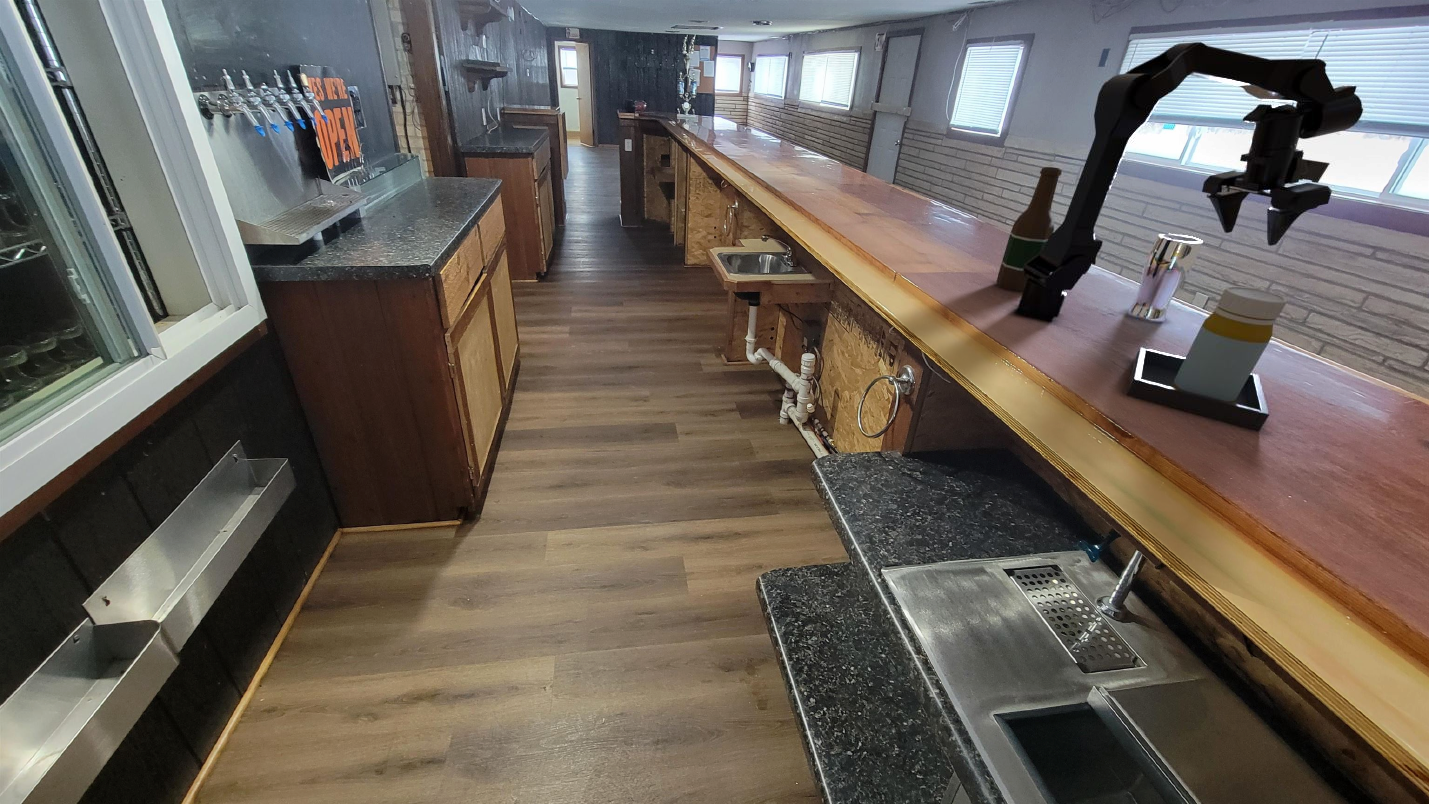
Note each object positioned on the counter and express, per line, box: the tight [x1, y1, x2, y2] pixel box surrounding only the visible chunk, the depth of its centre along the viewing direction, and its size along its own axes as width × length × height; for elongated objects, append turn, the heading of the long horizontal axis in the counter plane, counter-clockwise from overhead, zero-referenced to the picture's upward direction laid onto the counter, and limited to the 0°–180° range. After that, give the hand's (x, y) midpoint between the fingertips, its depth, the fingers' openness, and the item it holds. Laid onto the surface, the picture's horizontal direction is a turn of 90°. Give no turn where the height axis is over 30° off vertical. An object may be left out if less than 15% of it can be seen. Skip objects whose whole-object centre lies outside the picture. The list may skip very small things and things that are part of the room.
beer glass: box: [1126, 233, 1204, 323], centre depth 105 cm, size 7×7×15 cm
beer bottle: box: [996, 166, 1062, 293], centre depth 116 cm, size 8×8×24 cm
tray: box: [1126, 346, 1270, 432], centre depth 80 cm, size 15×15×2 cm
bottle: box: [1172, 285, 1288, 403], centre depth 75 cm, size 7×7×15 cm
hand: (1249, 238), depth 101 cm, fingers open, 9 cm apart
